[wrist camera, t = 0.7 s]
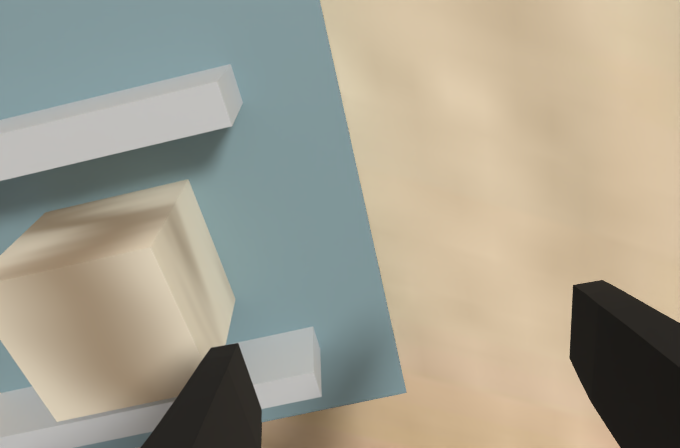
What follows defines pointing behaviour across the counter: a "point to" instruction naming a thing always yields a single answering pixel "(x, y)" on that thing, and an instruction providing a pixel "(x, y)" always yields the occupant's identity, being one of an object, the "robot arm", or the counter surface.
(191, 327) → the block
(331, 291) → the board
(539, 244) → the counter surface
